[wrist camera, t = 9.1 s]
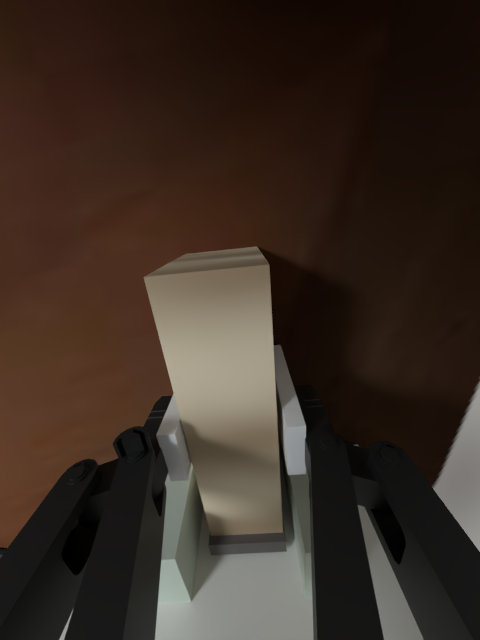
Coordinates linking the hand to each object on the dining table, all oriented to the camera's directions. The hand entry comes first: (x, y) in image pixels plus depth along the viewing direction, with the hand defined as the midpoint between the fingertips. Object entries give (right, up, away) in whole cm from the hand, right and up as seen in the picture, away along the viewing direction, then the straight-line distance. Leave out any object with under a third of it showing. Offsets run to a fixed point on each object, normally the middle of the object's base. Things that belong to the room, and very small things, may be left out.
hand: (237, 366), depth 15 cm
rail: (0, 0, 0) cm, 0 cm away
